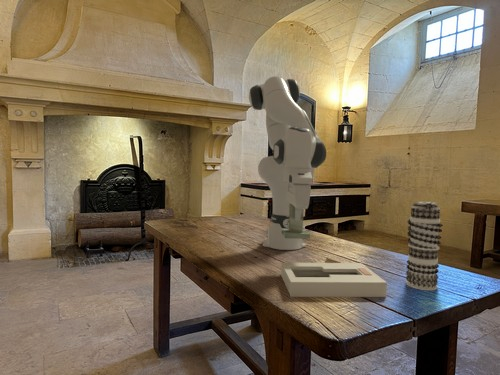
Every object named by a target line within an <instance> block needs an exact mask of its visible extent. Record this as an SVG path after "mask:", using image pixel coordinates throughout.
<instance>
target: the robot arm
mask: <svg viewBox="0 0 500 375" xmlns="http://www.w3.org/2000/svg"><path fill="white" fill-rule="evenodd" d="M300 95H301V89H300V85H299V84H298V82H297V80H295V79H294V78H287V79H284V78H282V77H281V76H276V75H275V76H270V77H269V78H268V79H266V80H265V82H264V83H262V84H256V85H254V86H252V87H251V88H250V89H249V93H248V102H249V103H250V104H249V105H251V107H252V108H253V109H254V110H256V111H262V110H265V128H266V133H267V139H268V144H269V147H270V149H271V150H272V151H273V152H272V153H273V154H272V155H270V156H265V157H263V158H262V159H261V160H260V161H259V163H258V166H257V171H258V175H259V177H260V178H261V179H262V180H263V181H264V182H265V183H266V184H267V186H268V188H269V189H270V192H271V197H272V213H271V217H270V218H271V219H270V221H271V223H270V225H268V228H266V229H265V235H266V237H265V239H264V240H263V243H262V246H263V247H264V248H269V249H275V250H281V251H294V250H299V249H301V248H306V247H307V244H306V243H305V242H303V239H297V238H285V237H284V236H283V234H282V233H281V231H282V228H284V229H288V226H289V203H290V204H292V205H293V206H294V207H295V214H294V219H295V220H296V221H300V219H301V213H302V209H304V210H308V208H309V205H310V200H311V199H310V198H311V190H312V188H311V186H312V185H313V184H314V178H313V176H314V175H315V174H314V173H315V170H316V168H318V167H320V166H321V165H322V164H323V163H324V162H325V161H326V158H327V148H326V146H325V144H324V142H323V141H322V140H321V139H320V137H319V135H318V134H317V132H316V129H315V127H314V125H313V124H312V122H311V120H310V118H309V116H308V114H307V113H306V111H305V110H304V109H303V108H301V107H300V106H299V105H298V104H297V103H298V101H299V99H300Z"/></svg>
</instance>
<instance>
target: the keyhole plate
mask: <svg viewBox="0 0 500 375" xmlns="http://www.w3.org/2000/svg"><path fill="white" fill-rule="evenodd" d="M280 276H281V278H282V280H283V282H284V285H285V287H286V290H287V291H288V295H289V296H290V298H294V297H295V298H299V297H300V298H308V297H309V298H319V297H320V298H326V297H327V298H387V283H388V282H387V281H386V280H384V279H383V278H382V277H380V276H379V275H378V274H376V273H375V272H374V271H372V270H371V269H370V268H368V267H367V266H366V265H364V264H363V263H362V262H340V263H325V262H281V264H280Z"/></svg>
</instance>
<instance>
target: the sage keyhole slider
mask: <svg viewBox="0 0 500 375" xmlns="http://www.w3.org/2000/svg"><path fill="white" fill-rule="evenodd" d="M304 210H305V209H302V213H301V219H300V221H296V220H295V219H294V214H295V207H294V206H293V205H292V204H290V203H289V226H288V229H284V228H282V231H281V233H282V234H283V236H284V237H285V238H297V239H305V240H306V239H307V240H308V239H309V240H310V239H311V233H310V232H309V231H307V229H305V228H304V212H305V211H304Z"/></svg>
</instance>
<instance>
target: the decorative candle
mask: <svg viewBox="0 0 500 375" xmlns="http://www.w3.org/2000/svg"><path fill="white" fill-rule="evenodd" d="M409 207H410V208H411V210H410V214H411V215H410V217H409V218H410V219H408V220H407V224H408V227H407V231H408V232H407V236H408V238H407V242H408V243H407V246H408V247H409V249H408V252H409V253H408V255H407V256H408V258H407V260H406V264H408V265H406V269H407V270H406V272H405V274H406V276H405V279H406V281H405V284H406V286H408V287H410V288H413V289H416V290H422V291H427V292H428V291H435V290H438V283H439V281H438V279H439V275H438V273H439V269H438V268H439V267H440V264H438V262H439V258H438V253H439V252H438V251H439V250H440V248H441V247H440V246H438V245H440V244H441V243H442V242H441V241H440V239H442V236H441V235H439V233H442V231H443V230H442V229H441V228H442V227H443V224H442V223H441V216H440V215H441V209H442V207H441V208H440V207H439V205H438V204H437V202H432V201H415V202H414V203H413V205H410V206H409Z"/></svg>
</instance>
